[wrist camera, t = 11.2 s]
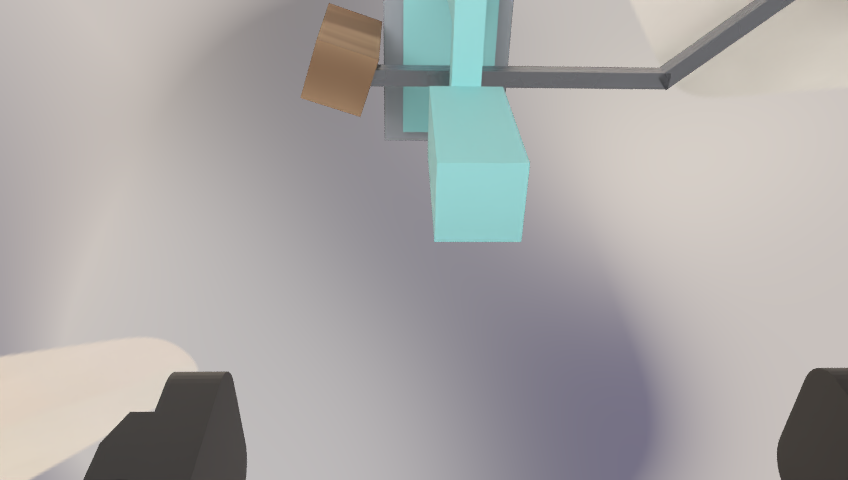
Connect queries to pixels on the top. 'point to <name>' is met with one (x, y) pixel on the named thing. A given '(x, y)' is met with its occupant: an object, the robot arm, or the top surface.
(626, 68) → the wire
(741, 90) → the top surface
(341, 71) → the wood grain block
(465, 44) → the turquoise frame with handle
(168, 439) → the robot arm
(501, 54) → the pad
